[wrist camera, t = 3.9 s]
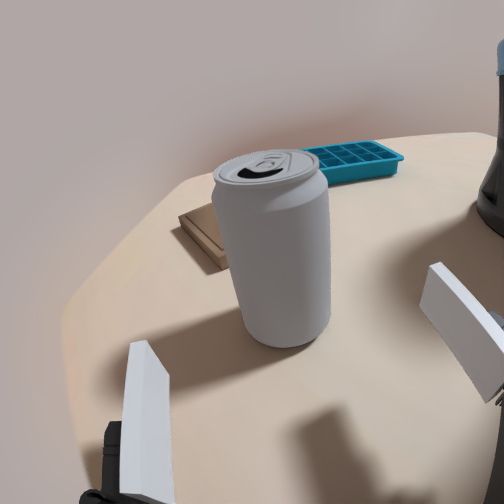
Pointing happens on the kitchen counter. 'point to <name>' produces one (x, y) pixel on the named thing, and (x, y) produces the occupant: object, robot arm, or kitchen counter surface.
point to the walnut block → (205, 232)
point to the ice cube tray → (355, 161)
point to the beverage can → (277, 243)
